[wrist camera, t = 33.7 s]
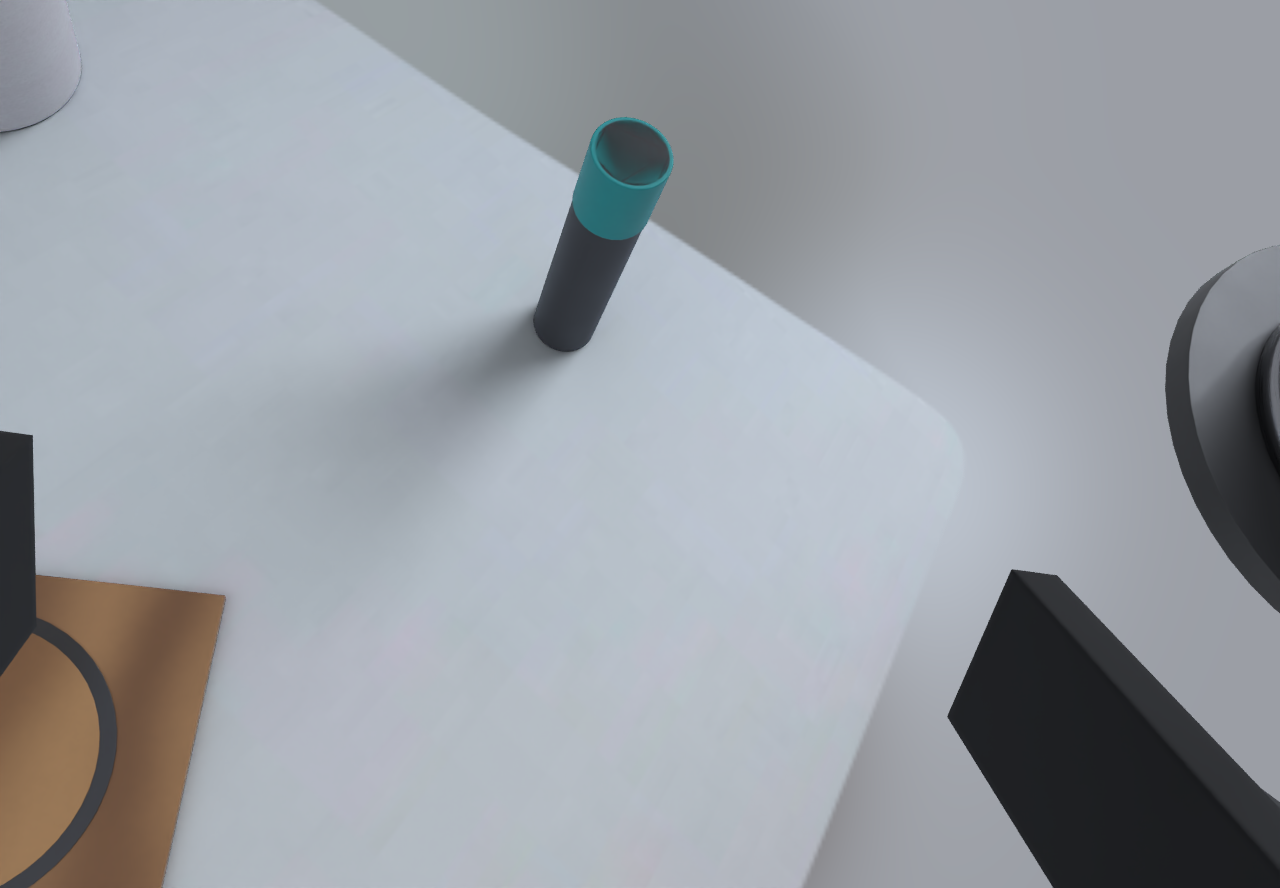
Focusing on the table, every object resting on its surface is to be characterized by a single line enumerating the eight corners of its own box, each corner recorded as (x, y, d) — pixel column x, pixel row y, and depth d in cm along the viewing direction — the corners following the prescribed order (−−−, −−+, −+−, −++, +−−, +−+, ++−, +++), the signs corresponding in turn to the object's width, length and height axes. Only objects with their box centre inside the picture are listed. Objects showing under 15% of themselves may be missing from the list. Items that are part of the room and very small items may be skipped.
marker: (597, 301, 42) (676, 127, 31) (591, 357, 41) (671, 197, 30) (535, 290, 42) (593, 108, 31) (528, 347, 41) (586, 179, 30)
